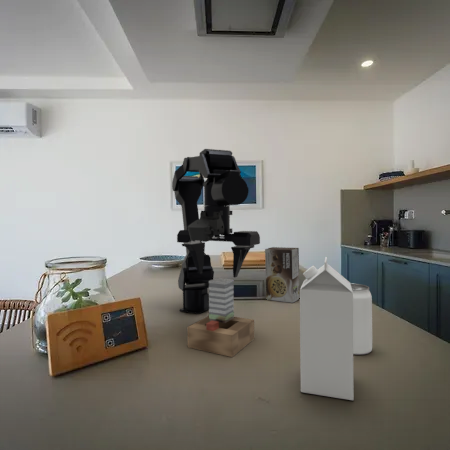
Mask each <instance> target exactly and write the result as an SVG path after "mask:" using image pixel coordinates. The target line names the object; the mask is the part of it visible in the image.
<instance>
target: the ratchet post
mask: <svg viewBox="0 0 450 450" xmlns="http://www.w3.org/2000/svg"><path fill="white" fill-rule="evenodd" d="M234 286H235V285H234V279H233V278H222V277H217V278H213V280H210V281H209V288H208V294H209V309H208V312H209V314H208V316H209V318H210V321H218V322H221V323H226V322H228V321H230V320H231V319H233V318H234V317H235V311H234V310H235V306H234V304H235V301H234V298H235V296H234V294H235V291H234V288H235V287H234Z"/></svg>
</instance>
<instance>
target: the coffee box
mask: <svg viewBox="0 0 450 450" xmlns="http://www.w3.org/2000/svg"><path fill="white" fill-rule="evenodd" d="M299 251H300V248H299V247H282V246H281V247H279V246H278V247H277V246H276V247H275V246H272V247H268V248H265V249H264V258H265V265H264V266H265V300H266V299H267V301H275V302H282V303H283V302H284V303H291V304H294V303H295V302H298V300H300V299H299V298H300V263H299V262H300V261H299V260H300V257H299V256H300V254H299V253H300V252H299Z"/></svg>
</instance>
